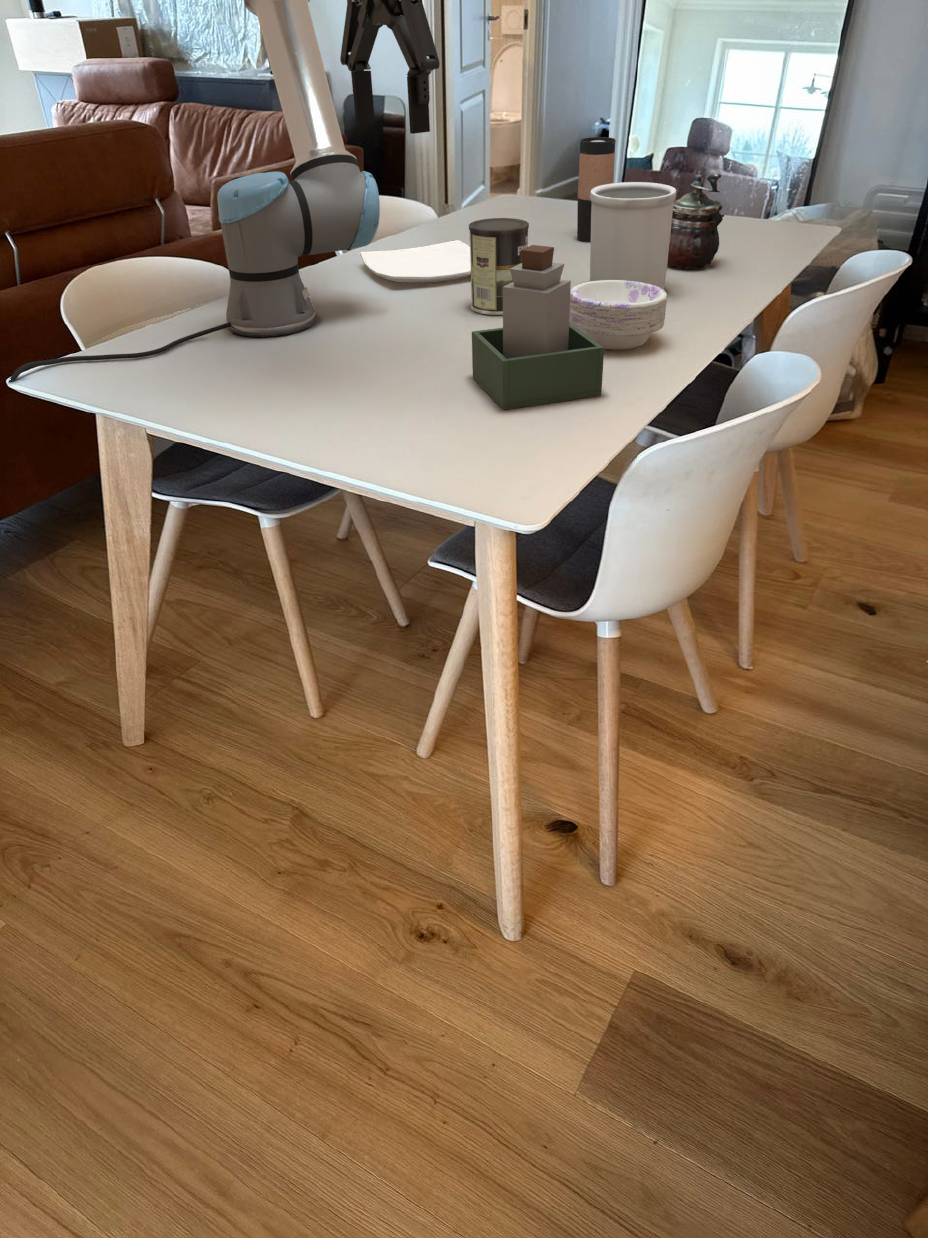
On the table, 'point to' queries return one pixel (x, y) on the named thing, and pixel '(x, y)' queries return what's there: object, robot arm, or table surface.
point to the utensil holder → (631, 232)
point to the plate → (421, 263)
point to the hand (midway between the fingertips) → (391, 128)
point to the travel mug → (592, 177)
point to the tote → (537, 370)
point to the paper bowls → (617, 311)
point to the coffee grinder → (695, 227)
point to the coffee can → (494, 260)
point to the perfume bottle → (536, 306)
